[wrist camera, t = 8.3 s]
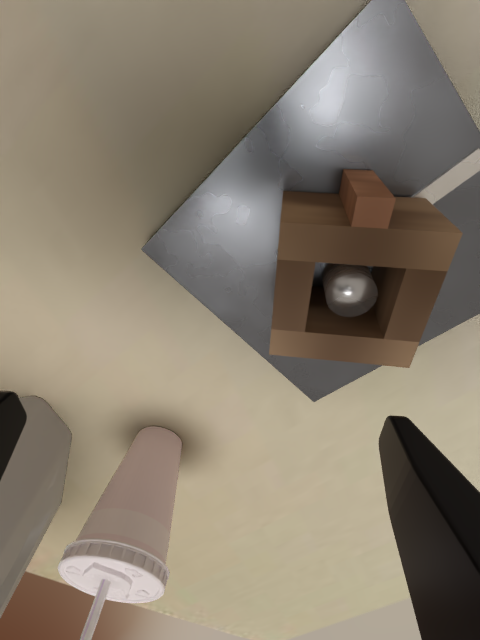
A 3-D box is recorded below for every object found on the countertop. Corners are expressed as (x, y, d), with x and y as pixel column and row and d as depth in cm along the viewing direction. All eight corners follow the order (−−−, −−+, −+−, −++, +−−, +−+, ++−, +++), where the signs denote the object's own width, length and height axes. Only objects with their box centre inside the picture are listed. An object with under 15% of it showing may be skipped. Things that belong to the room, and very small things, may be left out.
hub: (147, 241, 19) (113, 281, 15) (385, -16, 12) (428, -57, 9) (312, 390, 23) (318, 449, 20) (545, 261, 17) (618, 312, 13)
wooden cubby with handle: (273, 306, 19) (269, 354, 16) (285, 166, 15) (282, 192, 12) (388, 315, 18) (409, 367, 15) (433, 173, 14) (474, 202, 11)
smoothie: (187, 412, 26) (109, 677, 14) (207, 464, 29) (157, 711, 18) (108, 416, 27) (-22, 663, 16) (136, 466, 31) (47, 698, 19)
